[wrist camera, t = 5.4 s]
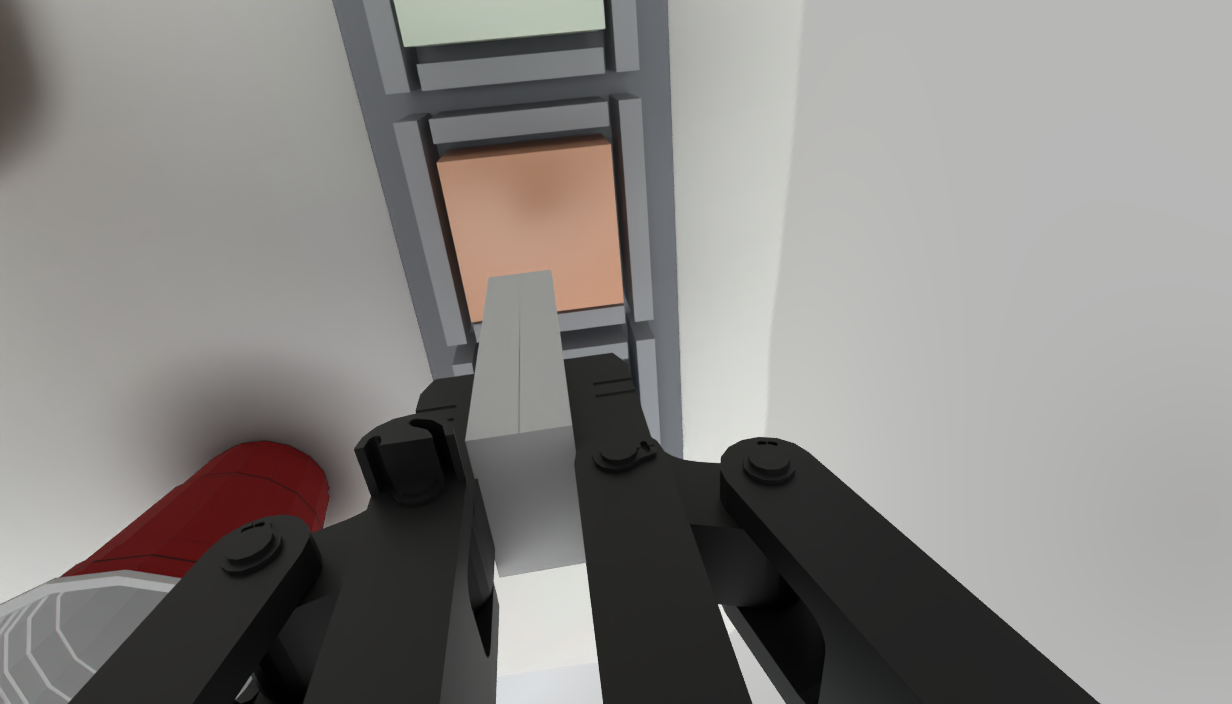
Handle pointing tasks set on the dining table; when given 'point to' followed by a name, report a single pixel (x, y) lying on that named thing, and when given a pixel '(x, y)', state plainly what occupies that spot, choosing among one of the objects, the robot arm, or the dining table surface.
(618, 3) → the console
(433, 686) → the robot arm
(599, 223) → the button terracotta
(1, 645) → the plastic cup
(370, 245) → the dining table surface
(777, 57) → the dining table surface
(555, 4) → the button sage
